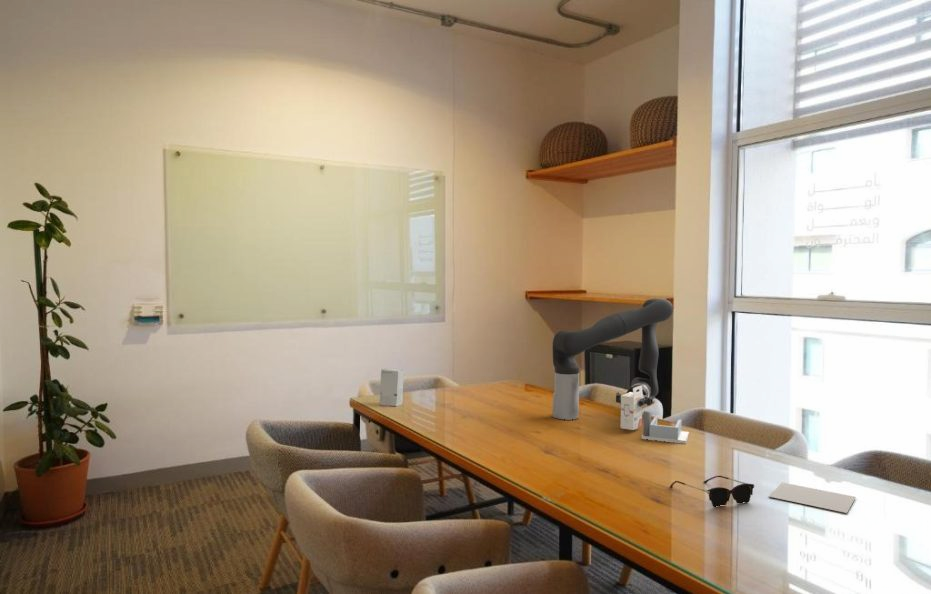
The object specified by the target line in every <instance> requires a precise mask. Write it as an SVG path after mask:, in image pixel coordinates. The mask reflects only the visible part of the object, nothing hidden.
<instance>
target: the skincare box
mask: <svg viewBox="0 0 931 594" xmlns="http://www.w3.org/2000/svg"><path fill="white" fill-rule="evenodd" d="M380 372H381V373H380V386H379V387H380V389H379V406H390V407H391V406H392V407H398V406H401V405H403V399H404V398H403V397H404V396H403V394H404V379H405V378H404V376H405V374H404V373H405V369H399V368H391V367H389V368H388V367H386V368H381V369H380Z"/></svg>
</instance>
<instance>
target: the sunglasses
mask: <svg viewBox="0 0 931 594" xmlns="http://www.w3.org/2000/svg"><path fill="white" fill-rule="evenodd" d="M716 478H722V479H726V480H729V481H733V482H736V483H740V484H737V485H736V486H734V487H733V488H732V489H729V488H726V487H723V486H722V487H720V486H717V487H716V486H715V487H712V488H710V489H709V488H708V489H704V488H701V487H696V486H693V485H690V484H688V483H685V482H682V481H679V480H675V481H673V482H672V483H671V484H670V485H669V487H670V488H673V487H674V485H675V484H676V483H677V484H680V485H683V486H686V487H690V488H693V489H695V490H699V491H701V492H704V493H706V494H708V499H709V500H708V501H710V502H711V505H712V507H713V508H714V507H716V506H720V505H725V506H727V503H728V502H729V501H730V497H731V495H732V499H733V501H735V503H736V504H737V503H743V502H750V500H751V496H753V491H754V490H753V489H755V484H754V483H747V482H742V481H739V480H736V479H735V478H734V479H733V478H730V477H728V476H727V477H726V476H724V475H723V476H722V475H715V476H713V477H710V478H707V479H706V480H704V481H703V482H705V483H704V484H707V483H708V482H709V481H711V480H714V479H716ZM716 508H717V507H716Z"/></svg>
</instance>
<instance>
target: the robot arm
mask: <svg viewBox="0 0 931 594" xmlns="http://www.w3.org/2000/svg"><path fill="white" fill-rule="evenodd" d="M673 312H674V306H673V303H672V302H671V301H670V300H668V299H666V298H649V299H647V300H646V301H644V303H643V304H642V306H641V307H639V308H636V309H630V310H629V309H628V310H624V311H620V312H616V313H613V314H610V315H608V316H605V317H603V318H601V319H600V320H598V321H597V322H596V323H594V324H593V325H591V326H590V327H588V328H584V329H581V330H577V331H569V330H564V329H563V330H559V331H557V332H556V334H555V335H554V336H553V339H552V363H553V364H552V365H553V366H554V392H553V393H552V418H553V417H554V419H558V420H564V419H565V420H566V421H567V420H568V421H570V420H571V421H573V420H577V418H578V419H579V413H580V412H579V404H580V401H579V400H580V366H579V364H578V363H577V362H576V359H575V356H577V355H579V354H582V353H583V352H586V351H587V350H589V349H591V348H593V347H595V346H597V345H601V344H604V343H607V342H609V341H612V340H616V339H618V338H620V337H623V336H626V335H628V334H631V333H633V332H636V331H638V330H639V329H641V347H640V353H639V354H640V355H639V361H638V370H639V371H640V372H642V373H644V374H646V375H648V376H649V378H644V377H643V378H642V377H634V378H633V379H632V381H631V384H630V387H629V388H628V389H627V391H626V393H625V394H627V393H629V392H633V388H635V387H638V386H641V385H642V393H643V398H642V399H640V400H639V407H641V406H642V407H643V406H645V405H647V406H648V407H649V406H652V405H654V404H655V397H656V396H657V395H658V394H659V383H658V378H657V376H658V375H657V371H658V370H657V369H658V363H659V362H658V361H659V346H658V341H657V336H656V332H657V331H656V329H657V325H658V323H662V322H665V321H667V320H669V319H670V318H671V316H672V315H673ZM638 391H639V390H638V389H637V390H636V392H638ZM621 395H622V393H620V392H616V394H615V403H618V404H620V406H621ZM572 419H573V420H572Z"/></svg>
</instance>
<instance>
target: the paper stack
mask: <svg viewBox="0 0 931 594" xmlns="http://www.w3.org/2000/svg"><path fill="white" fill-rule="evenodd" d="M768 497H770V498H775V499H779V500H783V501H788V502H793V503H798V504H802V505H808V506H813V507H817V508H821V509H826V510H831V511H835V512H840V513H844V514H847V513H848V511H849V510H850V508H851V506H852V505H853V503H854V501H855V500H856V496H853V495H847V494H845V493H844V494H843V493H838V492H833V491H828V490H822V489H818V488H814V487H808V486H802V485H798V484H797V485H796V484H792V483H786V482H781V483H780V484H779V485H778V486H777V487H776V488H775V489H774V490H773V491H772V492H771V493H770V494H769V495H768Z"/></svg>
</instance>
